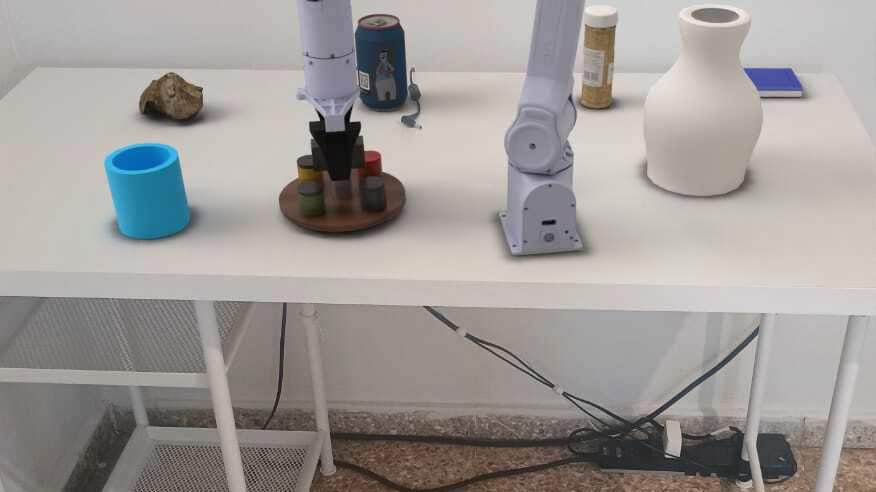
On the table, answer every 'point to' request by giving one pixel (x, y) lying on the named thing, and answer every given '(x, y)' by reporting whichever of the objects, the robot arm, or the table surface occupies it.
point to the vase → (704, 107)
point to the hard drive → (775, 82)
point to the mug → (147, 190)
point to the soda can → (381, 62)
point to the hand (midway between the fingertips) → (339, 164)
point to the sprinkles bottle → (598, 55)
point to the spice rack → (341, 193)
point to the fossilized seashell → (171, 98)
